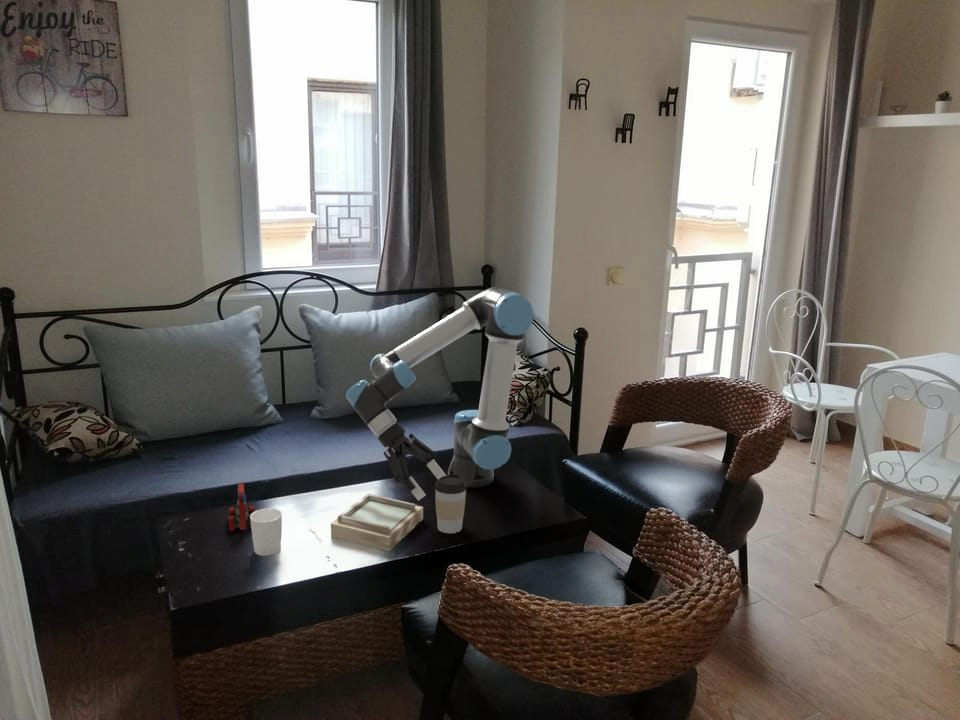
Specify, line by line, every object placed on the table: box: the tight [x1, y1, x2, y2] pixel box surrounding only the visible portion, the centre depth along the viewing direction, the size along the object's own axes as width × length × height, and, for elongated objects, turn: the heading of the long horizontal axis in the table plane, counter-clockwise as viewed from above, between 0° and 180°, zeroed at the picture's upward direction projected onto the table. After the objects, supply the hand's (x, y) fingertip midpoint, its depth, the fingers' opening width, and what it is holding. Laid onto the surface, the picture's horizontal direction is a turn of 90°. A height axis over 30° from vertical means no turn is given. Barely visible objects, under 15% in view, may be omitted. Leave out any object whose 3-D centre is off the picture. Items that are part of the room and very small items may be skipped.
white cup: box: [250, 507, 283, 557], centre depth 188 cm, size 8×8×10 cm
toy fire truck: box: [228, 483, 256, 532], centre depth 201 cm, size 7×12×10 cm, turn 18°
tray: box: [330, 493, 424, 552], centre depth 202 cm, size 20×18×6 cm
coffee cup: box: [434, 474, 468, 534], centre depth 203 cm, size 9×9×15 cm
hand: (433, 488), depth 203 cm, fingers open, 13 cm apart
